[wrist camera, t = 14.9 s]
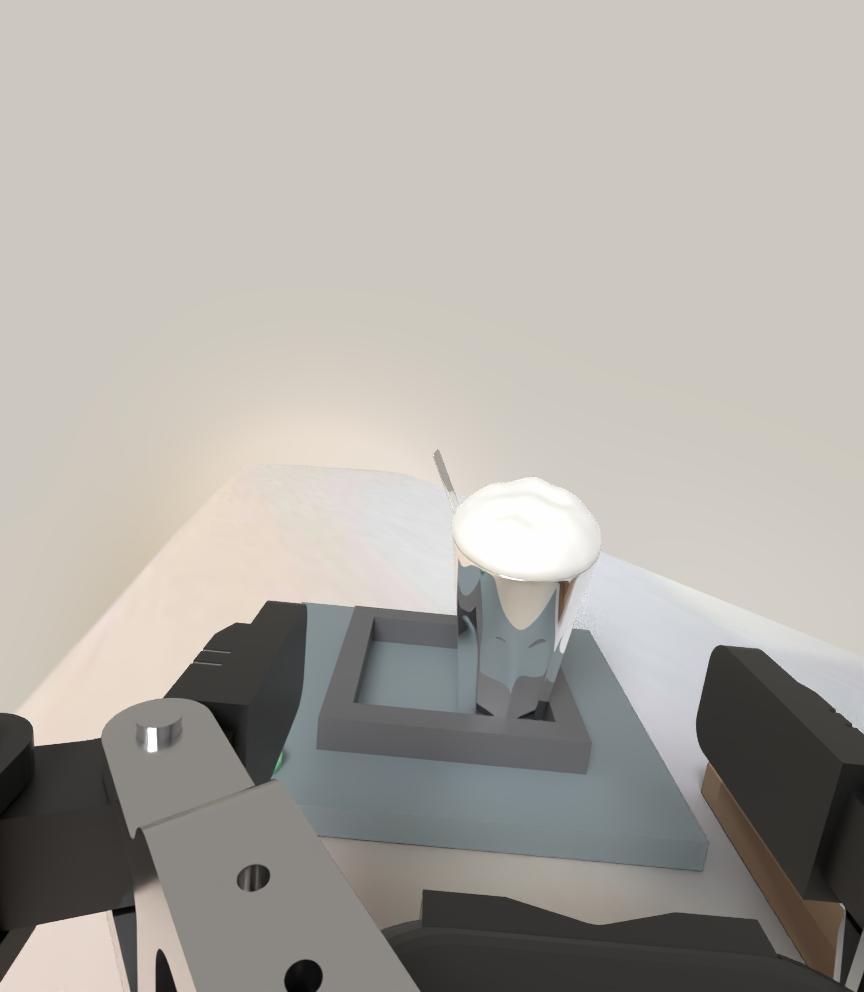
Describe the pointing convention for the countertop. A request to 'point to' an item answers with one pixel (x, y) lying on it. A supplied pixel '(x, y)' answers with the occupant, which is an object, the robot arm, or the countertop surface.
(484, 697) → the milkshake
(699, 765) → the countertop surface
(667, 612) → the countertop surface
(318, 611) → the port plate
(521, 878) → the countertop surface
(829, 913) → the square wooden frame
